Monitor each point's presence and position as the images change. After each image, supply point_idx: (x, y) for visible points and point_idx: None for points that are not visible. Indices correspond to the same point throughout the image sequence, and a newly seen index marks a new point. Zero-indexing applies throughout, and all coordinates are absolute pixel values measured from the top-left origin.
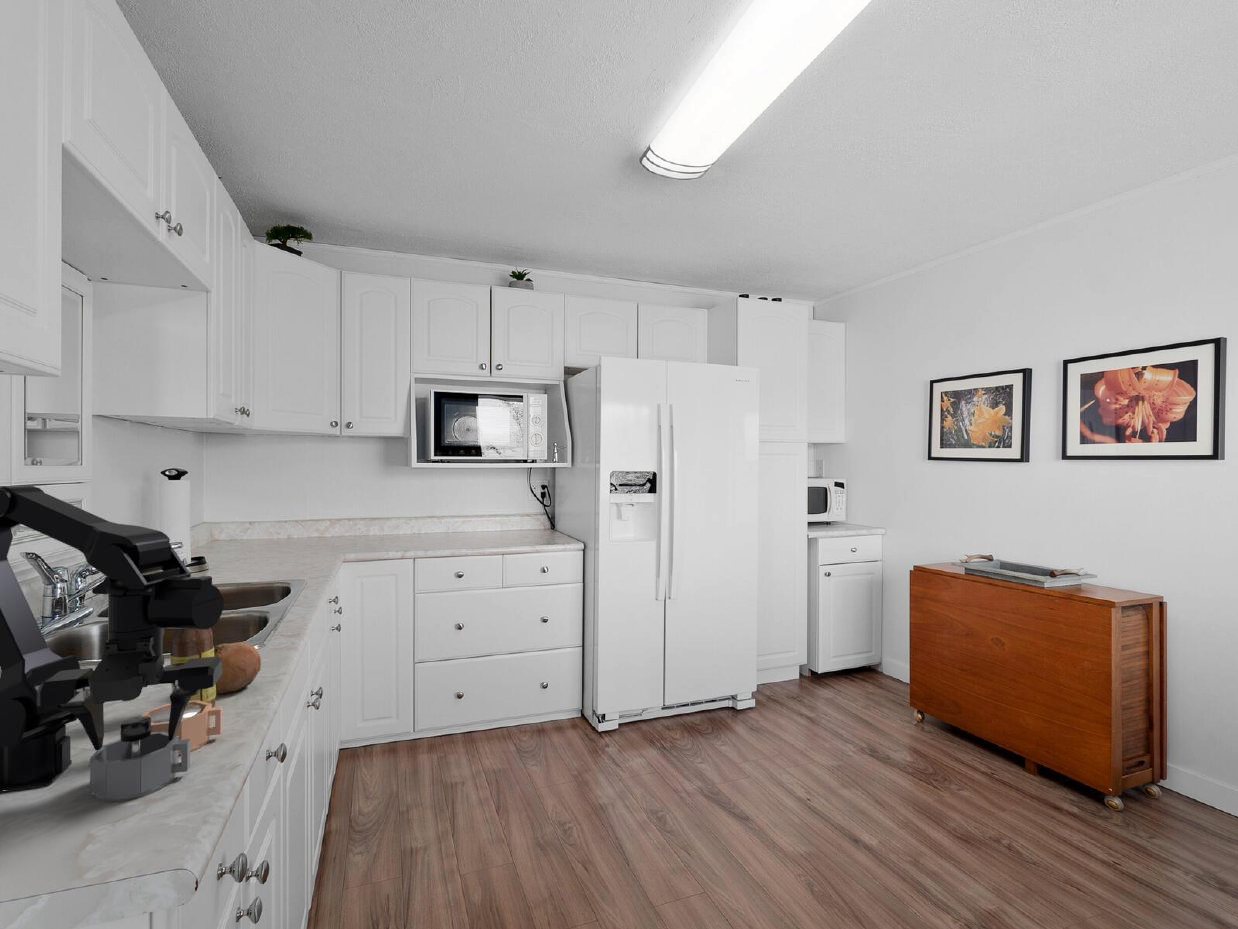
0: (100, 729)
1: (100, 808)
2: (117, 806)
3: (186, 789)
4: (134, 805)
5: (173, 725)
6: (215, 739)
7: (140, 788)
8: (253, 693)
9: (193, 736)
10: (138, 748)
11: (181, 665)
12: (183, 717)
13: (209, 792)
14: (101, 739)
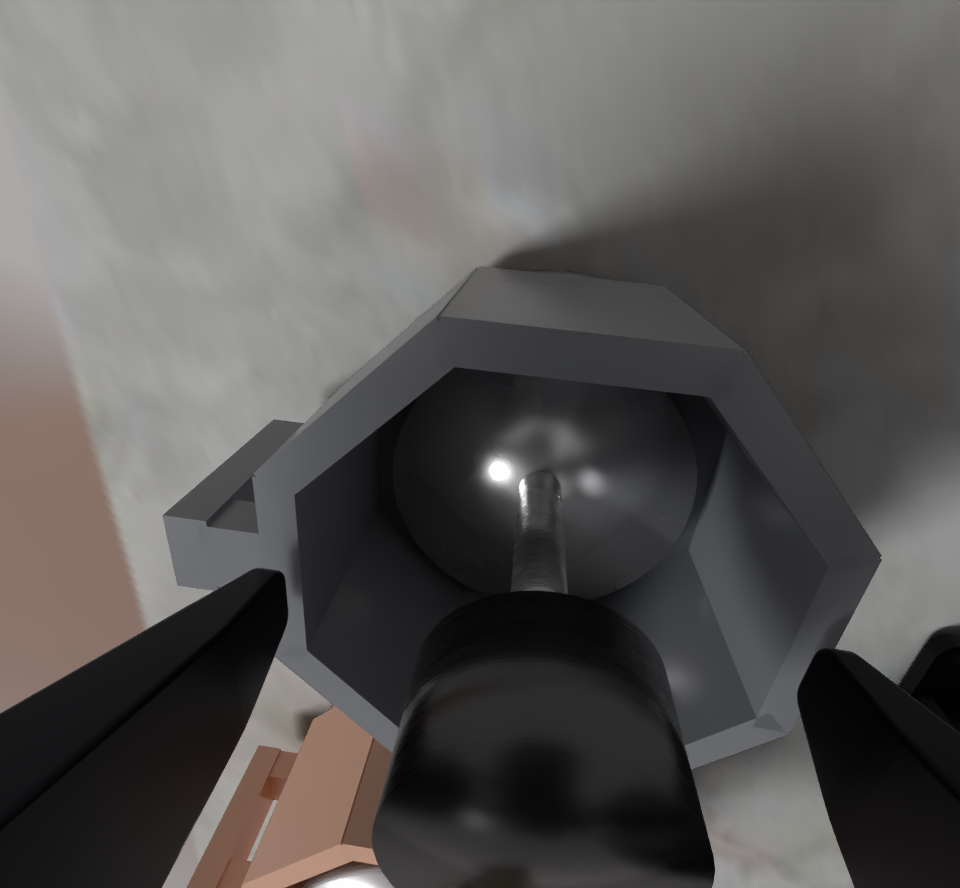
0: (911, 882)
1: (684, 228)
2: (592, 208)
3: (254, 264)
4: (496, 171)
5: (127, 658)
6: (300, 738)
7: (475, 272)
8: None
9: (333, 745)
10: (517, 587)
11: None
12: (352, 885)
13: (100, 149)
14: (838, 755)
